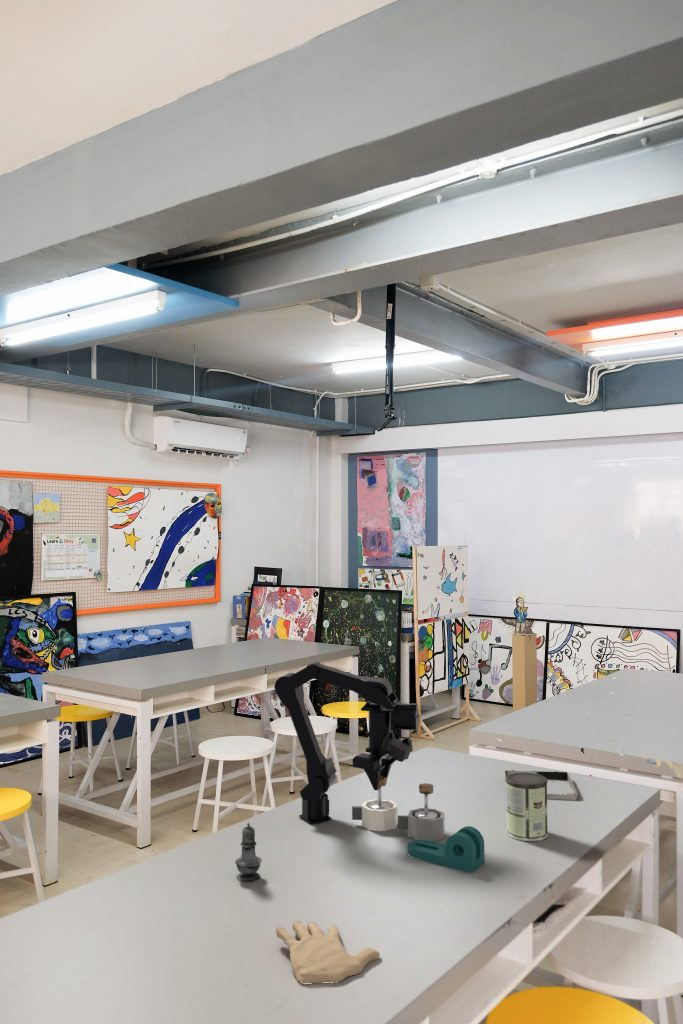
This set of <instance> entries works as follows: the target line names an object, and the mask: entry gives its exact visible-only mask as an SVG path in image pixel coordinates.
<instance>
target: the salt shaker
mask: <svg viewBox="0 0 683 1024" xmlns="http://www.w3.org/2000/svg"><path fill="white" fill-rule="evenodd" d="M250 825H251V824H250V823H249V822H248V823H246V826H245V827H243V828H242V831H241V833H242V834H241V842H240V846H241V855H240V857H238V858H236V859H235V861H234V863H235V864H236V868H237V870H238V872H239V873H237V875H236V880H237V881H239V882H243V883H252V882H257V881H258V880H260V879H261V874H260V873H259V872H258V871H259V869H260V867H261V863H262V861H263V860H262V858H261V857H259V856H257V854H256V845H257V841H255V840H256V831H255V828H254V827H252V826H250Z"/></svg>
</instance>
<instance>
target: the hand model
mask: <svg viewBox="0 0 683 1024" xmlns="http://www.w3.org/2000/svg"><path fill="white" fill-rule="evenodd" d="M291 924H292V930H293V931H295V934H296V936H297V938H298V939H299V940H296V939H295V938H294V937H293V936H292V935H291V934H290V933H289V932H288V930H287V929H285V927H283V926H282V925H280V924H279V925H277V926H276V928H275V932H276V933H275V935H276V937H277V938H278V939H280V940H282V941H283V943H284V944H285V945H286V946H287V948H288V950H289V958H290V965H291V968H292V972H293V974H294V977H295V976H296V977H295V978H296V980H297V982H298V981H299V982H302V983H323V982H333V983H336V982H339V983H341V982H342V981H344V980H345V979H346V978H347V977H352V975H353V976H356V975H358V974H360V973H361V972H362V971H363V970H364V969H365V967H366V966H367V965H368V964H369V963H371V962H373V961H376V959H377V960H379V959H380V952H379V951H378V950H376V949H373V948H371V947H367V948H364V949H362V950H361V951H360V952H358V953H357V954H355V955H352V954H349V953H348V952H347V951H346V950H345V948H344V946H343V944H342V942H341V940H340V937H341V933H340V931H339V928H338V926H337V925H336V924H330V925H329V928H328V935H325V932H324V930H322V928H320V927H319V926H318V925H317V922H316V921H315V920H309V921H308V922H307V927H306V926H305V925H304V924H303V923H302V921H301V920H300V919H294V920H293V921H292V923H291ZM308 930H309V931H308ZM364 966H365V967H364ZM340 981H341V982H340ZM299 982H298V983H299ZM336 984H337V983H336Z"/></svg>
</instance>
